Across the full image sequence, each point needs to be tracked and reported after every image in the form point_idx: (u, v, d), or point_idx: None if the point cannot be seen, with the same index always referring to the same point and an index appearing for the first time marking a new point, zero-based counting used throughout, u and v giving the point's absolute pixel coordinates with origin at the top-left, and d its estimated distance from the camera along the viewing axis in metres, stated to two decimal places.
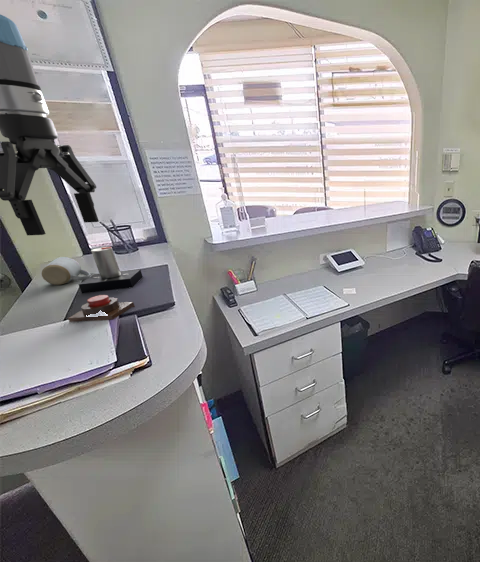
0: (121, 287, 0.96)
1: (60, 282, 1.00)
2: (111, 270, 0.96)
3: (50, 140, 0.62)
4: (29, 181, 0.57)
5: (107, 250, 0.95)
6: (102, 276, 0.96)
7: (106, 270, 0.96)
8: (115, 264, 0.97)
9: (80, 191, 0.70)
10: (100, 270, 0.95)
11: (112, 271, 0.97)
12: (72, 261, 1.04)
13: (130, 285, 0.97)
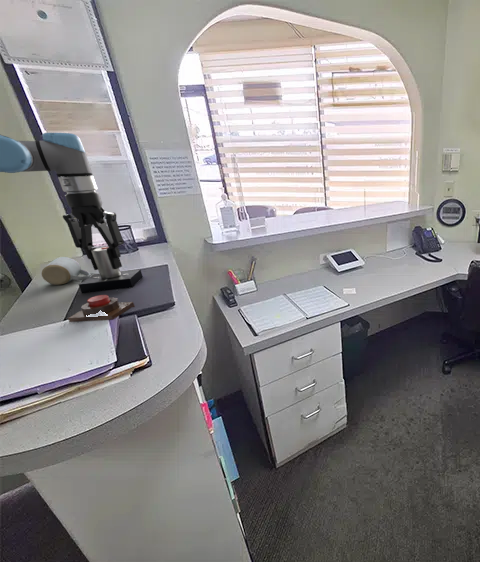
0: (121, 287, 0.96)
1: (60, 282, 1.00)
2: (111, 270, 0.96)
3: (92, 206, 0.90)
4: (84, 236, 0.93)
5: None
6: (102, 276, 0.96)
7: (106, 270, 0.96)
8: None
9: None
10: (100, 270, 0.95)
11: (112, 271, 0.97)
12: (72, 261, 1.04)
13: (130, 285, 0.97)
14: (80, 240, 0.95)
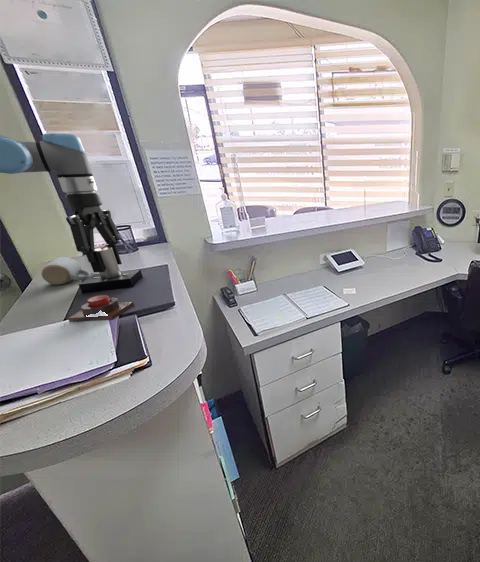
0: (121, 287, 0.96)
1: (60, 282, 1.00)
2: None
3: (97, 206, 0.93)
4: (92, 237, 0.91)
5: None
6: (116, 274, 0.98)
7: None
8: None
9: (109, 243, 0.99)
10: (114, 268, 0.97)
11: None
12: (72, 261, 1.04)
13: (130, 285, 0.97)
14: (78, 245, 0.88)
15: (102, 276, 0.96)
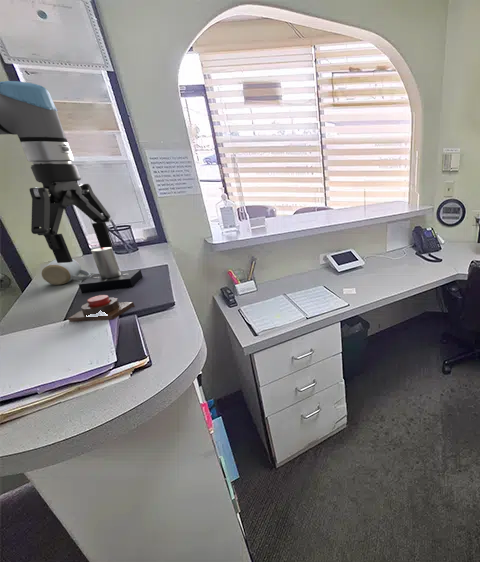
0: (121, 287, 0.96)
1: (60, 282, 1.00)
2: None
3: (74, 181, 0.73)
4: (59, 218, 0.69)
5: None
6: (116, 274, 0.98)
7: None
8: None
9: (97, 221, 0.81)
10: (114, 268, 0.97)
11: None
12: None
13: (130, 285, 0.97)
14: (35, 225, 0.65)
15: (102, 276, 0.96)
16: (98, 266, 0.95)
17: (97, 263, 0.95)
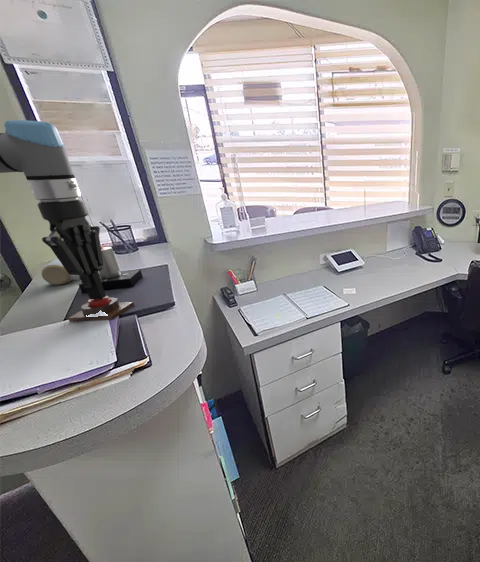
0: (121, 287, 0.96)
1: (60, 282, 1.00)
2: None
3: (81, 216, 0.72)
4: (83, 257, 0.72)
5: None
6: (116, 274, 0.98)
7: None
8: None
9: None
10: (114, 268, 0.97)
11: None
12: None
13: (130, 285, 0.97)
14: None
15: (102, 276, 0.96)
16: None
17: None
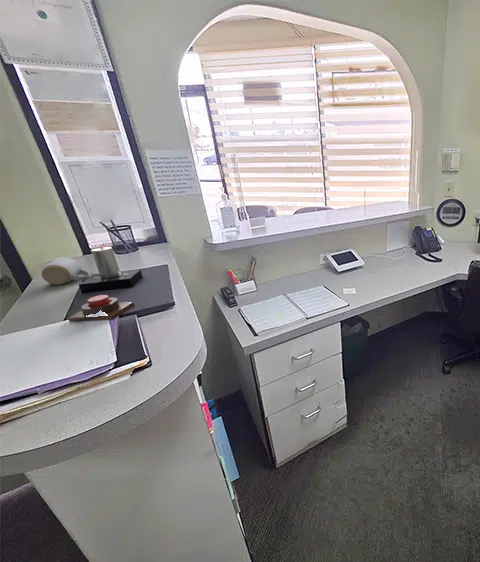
0: (121, 287, 0.96)
1: (60, 282, 1.00)
2: None
3: None
4: None
5: None
6: (116, 274, 0.98)
7: None
8: None
9: None
10: (114, 268, 0.97)
11: None
12: (72, 261, 1.04)
13: (130, 285, 0.97)
14: None
15: (102, 276, 0.96)
16: (98, 266, 0.95)
17: (97, 263, 0.95)
